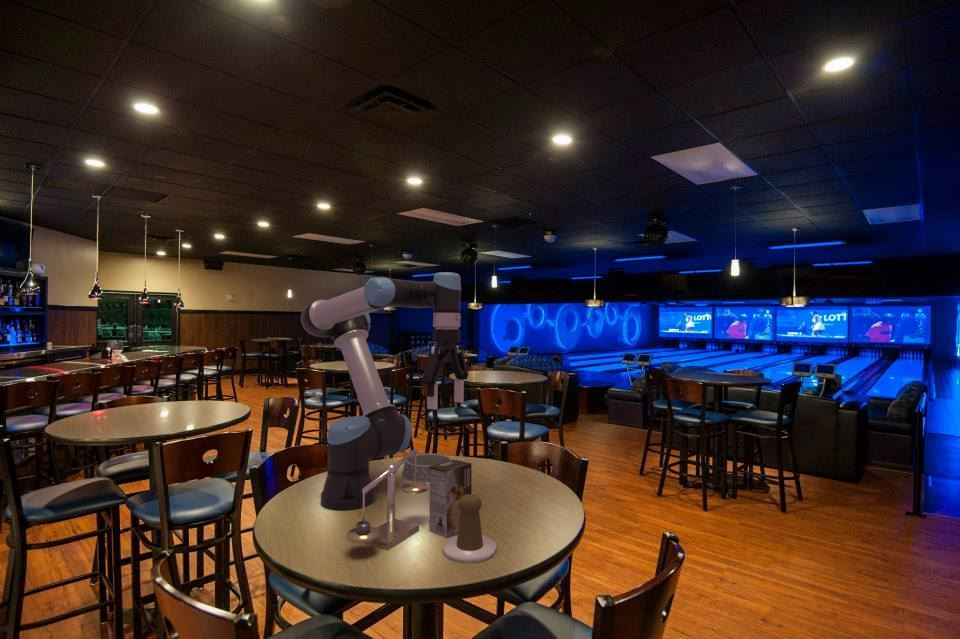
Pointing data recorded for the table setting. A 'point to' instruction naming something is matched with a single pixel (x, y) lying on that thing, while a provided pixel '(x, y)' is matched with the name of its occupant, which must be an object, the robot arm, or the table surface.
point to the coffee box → (447, 495)
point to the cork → (469, 523)
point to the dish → (469, 556)
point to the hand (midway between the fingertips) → (446, 405)
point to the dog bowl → (422, 466)
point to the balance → (388, 512)
